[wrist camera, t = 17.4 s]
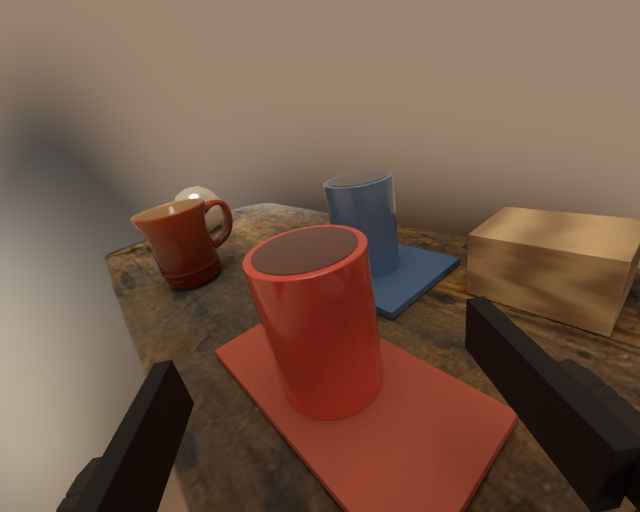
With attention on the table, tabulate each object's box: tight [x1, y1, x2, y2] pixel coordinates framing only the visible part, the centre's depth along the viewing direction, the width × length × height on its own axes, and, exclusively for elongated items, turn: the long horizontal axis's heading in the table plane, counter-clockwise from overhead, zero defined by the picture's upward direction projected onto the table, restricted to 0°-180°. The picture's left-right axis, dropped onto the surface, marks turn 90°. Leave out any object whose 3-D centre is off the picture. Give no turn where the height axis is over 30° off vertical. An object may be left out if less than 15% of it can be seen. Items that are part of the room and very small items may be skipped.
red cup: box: [242, 225, 384, 421], centre depth 19 cm, size 7×7×10 cm
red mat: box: [215, 323, 518, 512], centre depth 22 cm, size 20×10×1 cm, turn 40°
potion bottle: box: [174, 186, 223, 232], centre depth 59 cm, size 9×10×15 cm
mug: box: [130, 198, 232, 290], centre depth 41 cm, size 12×9×10 cm
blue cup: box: [323, 170, 399, 278], centre depth 33 cm, size 7×7×10 cm
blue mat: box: [372, 244, 460, 320], centre depth 35 cm, size 14×12×1 cm
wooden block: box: [466, 207, 640, 337], centre depth 25 cm, size 10×8×6 cm
